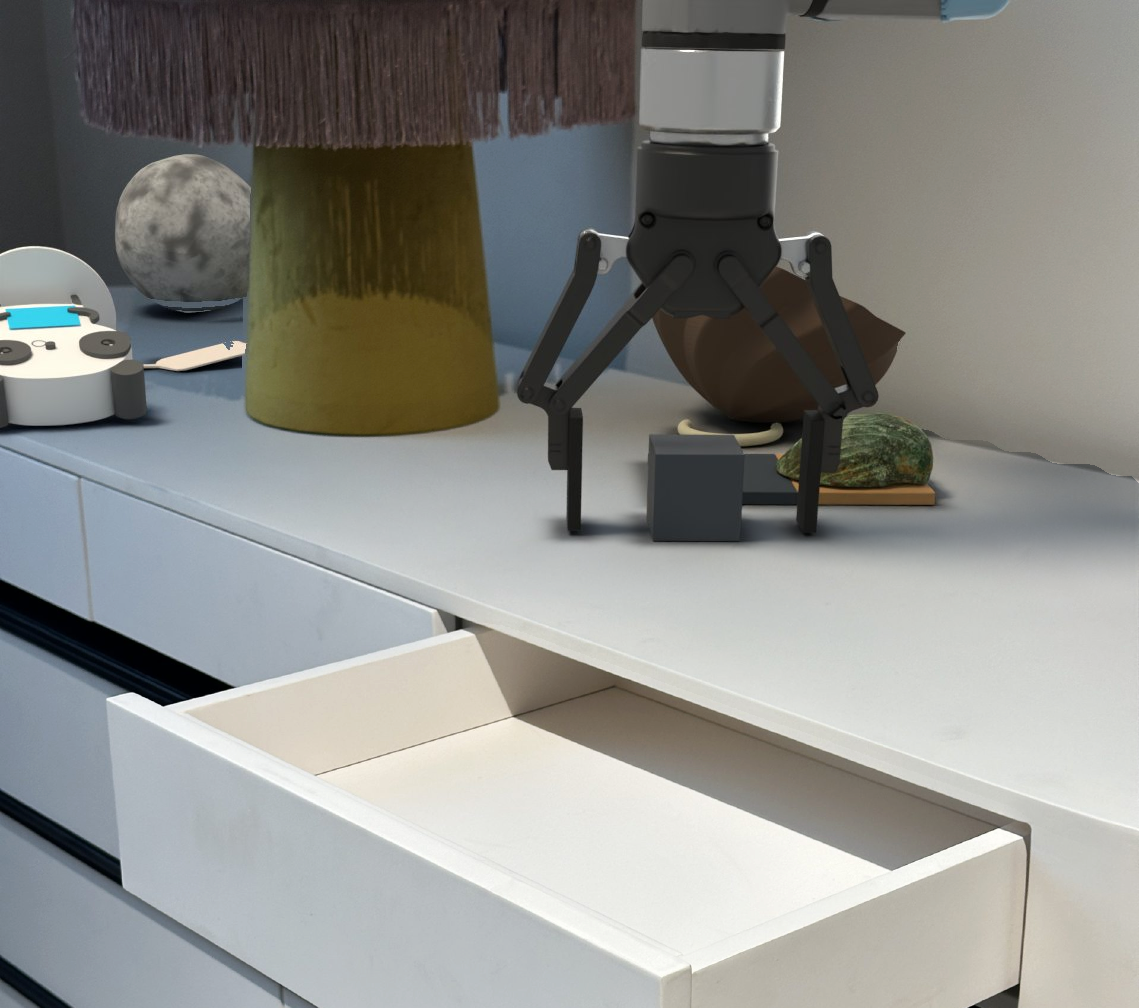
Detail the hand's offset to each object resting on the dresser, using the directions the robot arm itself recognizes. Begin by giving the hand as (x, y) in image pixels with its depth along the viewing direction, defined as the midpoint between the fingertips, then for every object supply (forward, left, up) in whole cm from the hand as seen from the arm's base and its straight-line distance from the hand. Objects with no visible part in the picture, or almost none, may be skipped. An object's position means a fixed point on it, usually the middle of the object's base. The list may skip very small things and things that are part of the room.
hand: (689, 526), depth 98 cm
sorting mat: (-7, -11, 0) cm, 13 cm away
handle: (-4, -20, 0) cm, 21 cm away
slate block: (0, 0, 0) cm, 0 cm away
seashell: (-12, -10, 0) cm, 16 cm away
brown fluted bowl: (-9, -30, +10) cm, 32 cm away
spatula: (+46, -45, 0) cm, 65 cm away
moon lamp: (+45, -71, +7) cm, 84 cm away
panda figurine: (+47, -39, +5) cm, 61 cm away
